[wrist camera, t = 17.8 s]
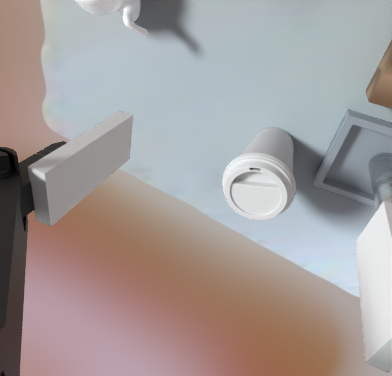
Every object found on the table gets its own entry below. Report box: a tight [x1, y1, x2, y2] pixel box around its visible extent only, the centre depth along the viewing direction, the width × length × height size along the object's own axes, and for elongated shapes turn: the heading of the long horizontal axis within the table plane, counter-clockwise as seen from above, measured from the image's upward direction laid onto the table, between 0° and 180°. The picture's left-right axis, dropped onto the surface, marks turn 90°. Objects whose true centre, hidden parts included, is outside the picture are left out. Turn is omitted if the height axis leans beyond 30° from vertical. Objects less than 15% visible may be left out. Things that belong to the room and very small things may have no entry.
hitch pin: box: [368, 153, 392, 211], centre depth 40 cm, size 5×5×17 cm
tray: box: [313, 110, 392, 207], centre depth 47 cm, size 12×16×2 cm
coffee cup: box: [222, 127, 296, 220], centre depth 46 cm, size 10×10×15 cm
